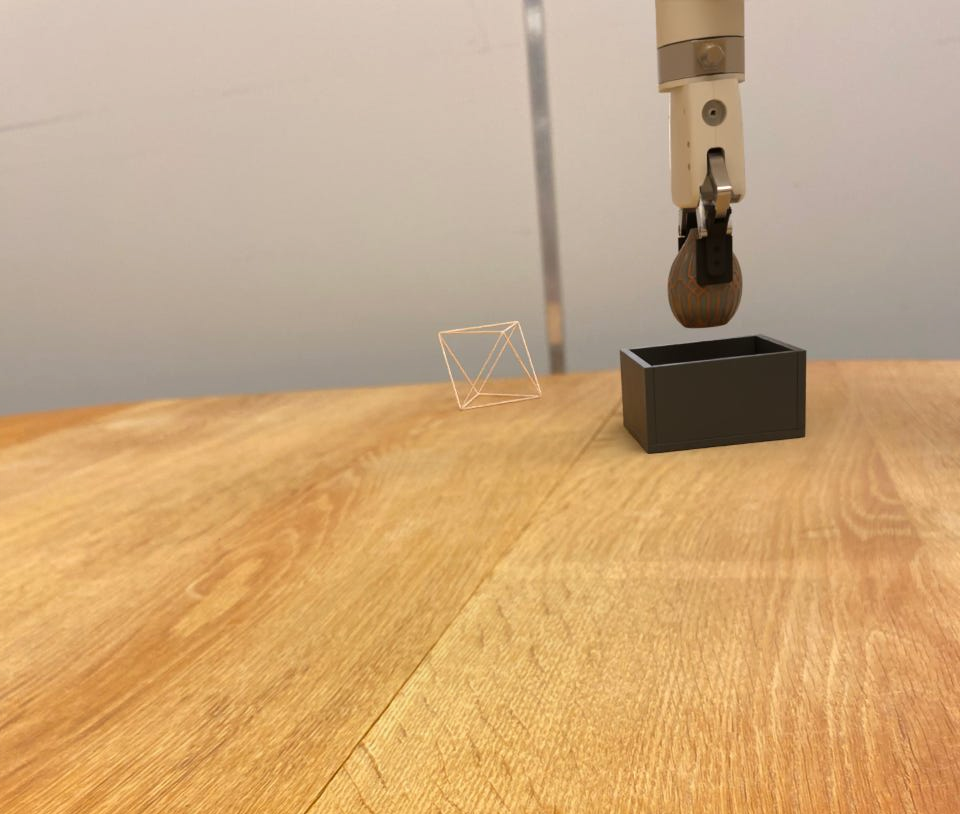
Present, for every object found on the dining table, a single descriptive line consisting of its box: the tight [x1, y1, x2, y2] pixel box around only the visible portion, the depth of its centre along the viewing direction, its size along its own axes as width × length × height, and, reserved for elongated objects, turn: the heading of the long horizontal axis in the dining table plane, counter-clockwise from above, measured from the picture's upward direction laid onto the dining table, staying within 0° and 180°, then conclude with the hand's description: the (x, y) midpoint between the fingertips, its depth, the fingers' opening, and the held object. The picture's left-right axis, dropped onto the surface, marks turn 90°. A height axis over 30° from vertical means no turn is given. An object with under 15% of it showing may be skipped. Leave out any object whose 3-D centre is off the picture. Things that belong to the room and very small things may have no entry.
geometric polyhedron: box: [437, 320, 543, 411], centre depth 133 cm, size 12×11×9 cm
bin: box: [619, 333, 807, 454], centre depth 103 cm, size 15×15×8 cm
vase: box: [666, 228, 743, 329], centre depth 99 cm, size 7×7×9 cm
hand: (704, 280), depth 100 cm, fingers closed on vase, 6 cm apart
